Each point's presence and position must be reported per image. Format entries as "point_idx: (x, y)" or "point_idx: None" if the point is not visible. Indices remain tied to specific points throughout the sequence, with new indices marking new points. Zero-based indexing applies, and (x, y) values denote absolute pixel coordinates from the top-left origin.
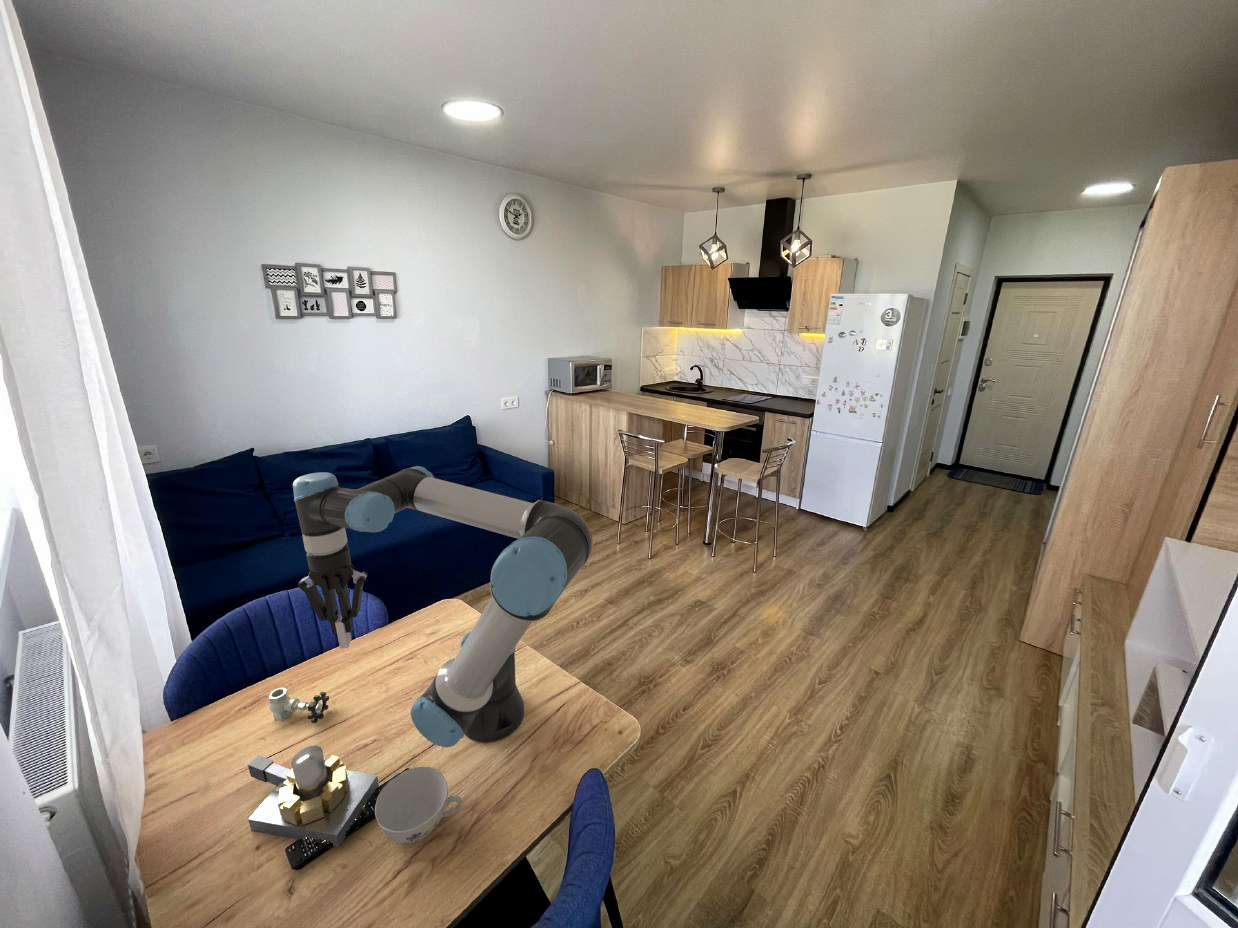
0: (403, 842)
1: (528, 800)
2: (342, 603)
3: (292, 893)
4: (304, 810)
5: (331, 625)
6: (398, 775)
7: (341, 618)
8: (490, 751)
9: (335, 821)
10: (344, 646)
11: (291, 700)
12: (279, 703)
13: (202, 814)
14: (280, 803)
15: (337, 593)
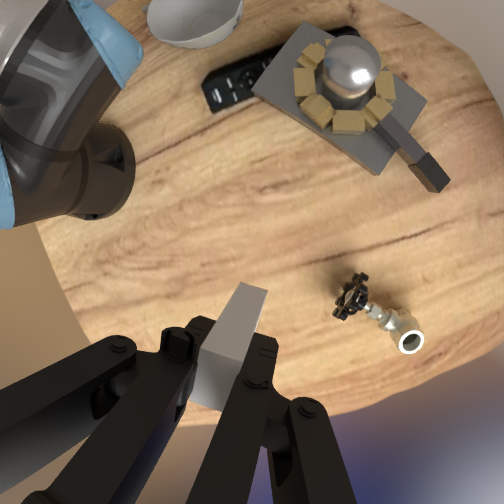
0: None
1: None
2: (117, 435)
3: (349, 5)
4: None
5: (271, 368)
6: (205, 34)
7: (211, 384)
8: (111, 109)
9: (307, 39)
10: (249, 287)
11: (391, 324)
12: (409, 323)
13: (476, 169)
14: (388, 71)
15: None
